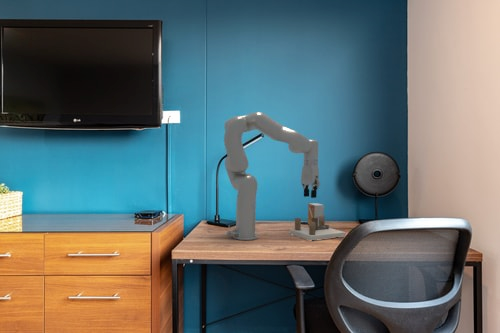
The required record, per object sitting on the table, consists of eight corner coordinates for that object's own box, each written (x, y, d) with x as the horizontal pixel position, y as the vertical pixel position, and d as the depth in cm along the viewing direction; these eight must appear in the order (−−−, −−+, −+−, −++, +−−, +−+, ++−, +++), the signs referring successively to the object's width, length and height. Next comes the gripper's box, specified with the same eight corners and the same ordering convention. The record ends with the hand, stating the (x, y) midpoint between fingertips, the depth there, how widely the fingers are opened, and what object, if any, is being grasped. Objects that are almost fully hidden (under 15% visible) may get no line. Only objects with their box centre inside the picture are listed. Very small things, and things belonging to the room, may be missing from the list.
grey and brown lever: (326, 227, 185) (326, 216, 184) (330, 228, 182) (330, 217, 182) (310, 229, 180) (310, 217, 179) (314, 230, 177) (314, 218, 177)
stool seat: (311, 241, 164) (311, 223, 164) (289, 233, 180) (289, 217, 180) (345, 237, 175) (345, 220, 174) (322, 230, 190) (322, 215, 190)
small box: (307, 224, 206) (308, 203, 206) (317, 224, 208) (317, 203, 208) (314, 227, 198) (314, 205, 198) (323, 227, 200) (324, 204, 200)
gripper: (295, 162, 188) (294, 195, 188) (315, 163, 173) (314, 199, 173) (306, 162, 192) (305, 195, 192) (327, 163, 176) (326, 198, 177)
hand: (310, 196), depth 183 cm, fingers open, 5 cm apart
